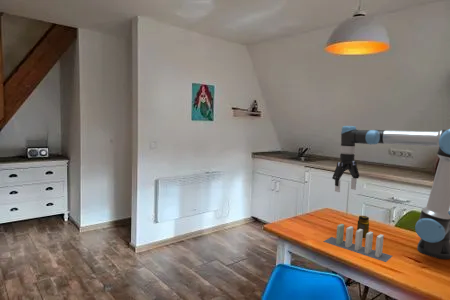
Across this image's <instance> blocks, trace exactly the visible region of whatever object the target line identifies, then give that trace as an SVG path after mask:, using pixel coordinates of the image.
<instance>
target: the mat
mask: <svg viewBox="0 0 450 300" xmlns="http://www.w3.org/2000/svg"><path fill="white" fill-rule="evenodd" d="M345 241H346V240H343V243H341V244H339V245H338V244H336V237H333V236H331V237H329V238H327V239H325V240H323V241H322V242H323V243H327V244H329V245H332V246H336V247H339V248H341V249H345V250H348V251H350V252H353V253H357V254H360V255H363V256H366V257H368V258H371V259H375V260H378V261H381V262H385V263H387V262H388V261H389V260H391V258H392V257H393V255H391V254H388V253H385V252H382V255H381V256H380V257H375V250H376V249H372V251H371V252H370V253H369V254H366V253H365V246H362V248H361V249H360V250H358V251H357V250H355V243H353V242H352V246H350V247H348V248H347V247H345Z"/></svg>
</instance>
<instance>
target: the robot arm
mask: <svg viewBox="0 0 450 300" xmlns="http://www.w3.org/2000/svg"><path fill="white" fill-rule="evenodd" d="M340 132H341V133H340V135H341V136H340V156H339V160H340V161H341V162H339V161H337V162H336V168H335V170H334V172H333V175H332V180H334V192H337V193H340V192H341V180H340V179H342V176H343V175H344V173H345V172H346V171H349V174H350V175H351V181H350V190H354V191H355V190H356V189H357V179H359V177H360V173H359V169H358V166H357V165H358V164H357V161H355V153H356V144H361V145H377V144H381V145H382V144H385V145H387V144H388V145H402V146H417V147H418V146H420V147H435V148H436V147H437V148H438V150H437V152H436V153H437V154H436V156H437V157H438V158H439V161H438V164H437V168H436V171H435V175H434V179H433V183H432V186H431V190H430V193H429V197H428V201H427V204H426V206H425V207H423V208H422V209H421V210H420V211H421V212H420V215H419V218H418V220H417V221H416V222H415V227H414V229H415V233H416V234H417V236H418V237H419V241H418V244H417V246H416V247H417V248H416V249H417V251H418V252H419V253H421V254H423V255H425V256H427V257H428V256H429V257H432V258H436V259H441V260H449V259H450V128H449V129H441V130H439V131H433V130H432V131H429V130H428V131H427V130H426V131H425V130H395V129H394V130H393V129H386V130H385V129H357V127H356V126H355V125H354V126H353V125H343V126H342V128H341V131H340Z"/></svg>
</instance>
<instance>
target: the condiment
mask: <svg viewBox="0 0 450 300" xmlns="http://www.w3.org/2000/svg"><path fill="white" fill-rule="evenodd" d="M369 219H370V218H369V217H368V216H367V215H359V216H358V220H357V225H356V226H357V227H356V231H357V230H359V229H363V238H362V239H366V234H367V233H368V232H370V231H369V230H370V222H369V221H370V220H369Z"/></svg>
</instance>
